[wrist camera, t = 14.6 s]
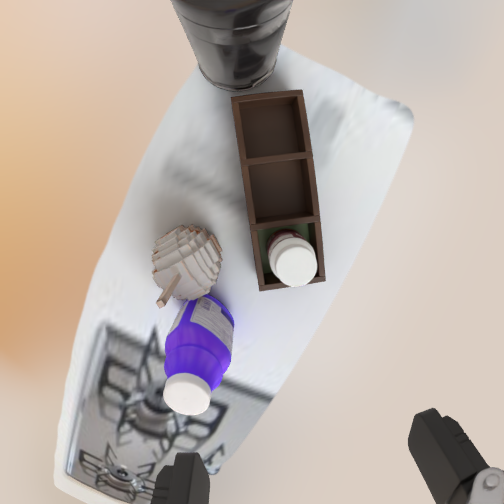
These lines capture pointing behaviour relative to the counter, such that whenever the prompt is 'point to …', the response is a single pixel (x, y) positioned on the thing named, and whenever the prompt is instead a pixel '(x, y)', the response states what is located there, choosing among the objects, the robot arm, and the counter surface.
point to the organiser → (277, 175)
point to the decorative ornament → (186, 263)
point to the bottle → (197, 354)
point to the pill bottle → (291, 257)
